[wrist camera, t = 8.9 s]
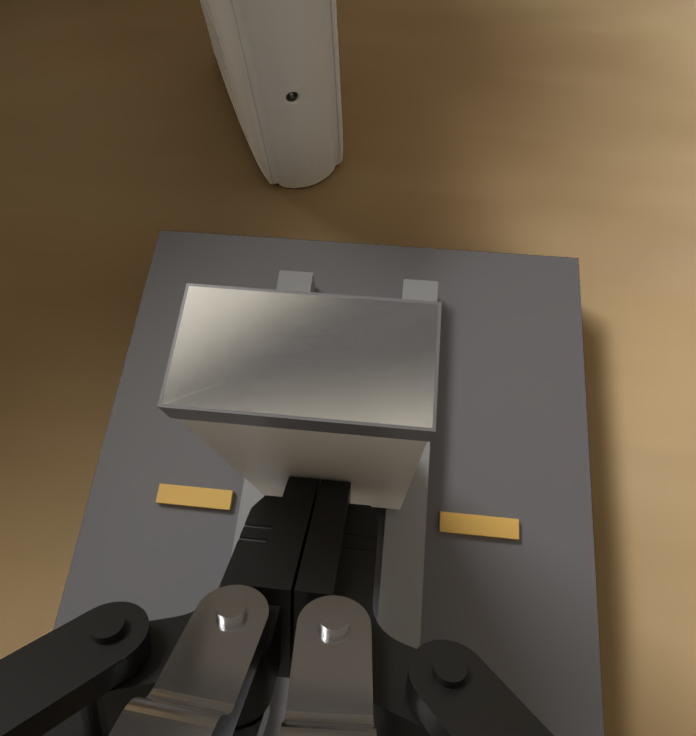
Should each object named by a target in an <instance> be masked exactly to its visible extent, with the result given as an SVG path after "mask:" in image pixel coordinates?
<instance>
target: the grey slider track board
mask: <svg viewBox="0 0 696 736" xmlns="http://www.w3.org/2000/svg"><path fill="white" fill-rule="evenodd" d="M187 283H192V284H206V285H220V286H233V287H247V288H260V289H274V290H288V291H301V292H315V293H329V294H342V295H356V296H369V297H383V298H397V299H410V300H424V301H437V302H442V308H441V329H440V351H439V372H438V393H437V415H436V432H435V435H434V437H433V439H432V442H427V443H426V445H425V448H424V450H423V453H422V456H421V458H420V461H419V463H418V466H417V468H416V471H415V473H414V476H413V478H412V481H411V483H410V486H409V488H408V491H407V493H406V496H405V499H404V501H403V504H402V506H401V509H400V510H398V509H388V508H378V507H373V511H374V513H375V515H376V517H377V519H378V521H379V522H378V536H377V550H376V564H375V578H374V593H373V612H374V616H375V618H376V621H377V622H378V624H379V626H380V627H381V628H382V629H383V630H384V631H385V632H386V633H387V634H388V635H389V636H391V637H392V638H394V639H395V640H397V641H399V642H401V643H404V644H406V645H408V646H411V647H413V648H415V649H417V648H418V647H419V646H421V645H422V644H424V643H426V642H429V641H433V640H450V641H455V642H457V643H460V644H462V645H464V646H466V647H468V648H469V649H471V650H472V651H473V652H475V653H476V654H477V655H478V656H479V657H480V658H481V659H482V660H483V661H484V662H485V664H486V665H487V666H488V667H489V668H490V669H491V670H492V671H493V672H494V673H495V674H496V675H497V676H498V677H499V678H500V679H501V680H502V681H503V683H504V684H505V685H506V686H507V687H508V688H509V689H510V690H511V691H512V692H513V693H514V694H515V695H516V696H517V697H518V698H519V699H520V700H521V702H522V703H523V704H524V705H525V706H526V707H527V708H528V709H529V710H530V711H531V712H532V713H533V714H534V715H535V716H536V717H537V718H538V719H539V720H540V722H541V723H542V724H543V725H544V726H545V727H546V728H547V729H548V730H549V731H550V732H551V733H552V734H553V735H554V736H604V720H603V702H602V683H601V665H600V646H599V628H598V610H597V591H596V573H595V554H594V536H593V518H592V499H591V481H590V462H589V444H588V426H587V407H586V389H585V370H584V352H583V334H582V315H581V297H580V278H579V260H578V258H569V257H554V256H539V255H524V254H509V253H494V252H479V251H464V250H449V249H434V248H419V247H405V246H390V245H375V244H360V243H345V242H330V241H315V240H300V239H285V238H270V237H255V236H240V235H225V234H210V233H195V232H180V231H165V230H160V231H159V235H158V239H157V243H156V246H155V250H154V254H153V258H152V261H151V265H150V269H149V273H148V276H147V280H146V284H145V288H144V291H143V295H142V299H141V303H140V306H139V310H138V314H137V318H136V321H135V325H134V329H133V333H132V336H131V340H130V344H129V348H128V351H127V355H126V359H125V363H124V367H123V370H122V374H121V378H120V382H119V385H118V389H117V393H116V397H115V400H114V404H113V408H112V412H111V415H110V419H109V423H108V427H107V430H106V434H105V438H104V442H103V445H102V449H101V453H100V457H99V460H98V464H97V468H96V472H95V475H94V479H93V483H92V487H91V490H90V494H89V498H88V502H87V505H86V509H85V513H84V517H83V520H82V524H81V528H80V532H79V535H78V539H77V543H76V547H75V550H74V554H73V558H72V562H71V566H70V569H69V573H68V577H67V581H66V584H65V588H64V592H63V596H62V599H61V603H60V607H59V611H58V614H57V618H56V622H55V626H54V629H53V630H55V629H57V628H59V627H60V626H62V625H64V624H66V623H68V622H69V621H71V620H73V619H75V618H77V617H78V616H80V615H82V614H84V613H86V612H87V611H89V610H91V609H93V608H95V607H97V606H100V605H103V604H106V603H110V602H118V601H123V602H131V603H134V604H136V605H138V606H140V607H141V608H142V609H144V610H145V612H146V613H147V615H148V618H149V621H152V620H158V619H164V618H171V617H176V616H181V615H185V614H188V613H190V612H193V611H195V609H196V607H197V605H198V604H199V602H200V601H201V600H202V599H203V598H204V597H205V596H206V595H207V594H208V593H210V592H212V591H213V590H215V589H218V588H219V586H220V583H221V581H222V578H223V576H224V573H225V571H226V569H227V566H228V564H229V561H230V559H231V556H232V554H233V551H234V549H235V546H236V544H237V542H238V540H239V538H240V534H241V532H242V529H243V527H244V526H245V522H246V519H247V517H248V515H249V512H250V510H251V508H252V507H253V506H254V505H255V504H256V503H257V502H258V501H259V500H261V499H262V498H263V497H264V496H265V495H264V494H263V493H261V492H260V491H259V490H258V489H257V488H256V487H255V486H254V485H252V484H251V483H250V482H249V481H248V480H247V479H246V478H245V477H243V476H242V475H241V474H240V473H239V472H238V471H237V470H236V469H234V468H233V467H232V466H231V465H230V464H229V463H228V462H226V461H225V460H224V459H223V458H222V457H221V456H220V455H219V454H217V453H216V452H215V451H214V450H213V449H212V448H211V447H210V446H208V445H207V444H206V443H205V442H204V441H203V440H202V439H201V438H199V437H198V436H197V435H196V434H195V433H194V432H193V431H191V430H190V429H189V428H188V427H187V426H186V425H185V424H184V423H182V422H181V421H180V420H179V419H174V418H170V417H169V416H168V415H166V414H165V413H164V412H163V411H162V410H161V409H159V408H158V407H157V406H158V402H159V398H160V394H161V389H162V385H163V381H164V377H165V372H166V368H167V364H168V360H169V356H170V351H171V347H172V343H173V339H174V334H175V330H176V326H177V322H178V317H179V313H180V309H181V305H182V300H183V296H184V292H185V288H186V284H187ZM289 680H290V678H286V677H277V679H276V683H275V687H274V692H273V696H272V699H271V702H270V713H269V718H268V721H267V724H266V727H265V731H264V734H263V736H279V733H280V728H281V724H282V722H284V718H285V712H286V704H287V696H288V688H289Z"/></svg>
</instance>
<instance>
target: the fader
mask: <svg viewBox="0 0 696 736" xmlns="http://www.w3.org/2000/svg"><path fill="white" fill-rule="evenodd" d="M441 308H442V302H437V301H424V300H410V299H397V298H383V297H369V296H356V295H342V294H329V293H315V292H301V291H288V290H274V289H260V288H247V287H233V286H220V285H206V284H192V283H187V284H186V288H185V292H184V296H183V300H182V305H181V309H180V313H179V317H178V322H177V326H176V330H175V334H174V339H173V343H172V347H171V351H170V356H169V360H168V364H167V368H166V372H165V377H164V381H163V385H162V389H161V394H160V398H159V402H158V406H157V407H158V408H159V409H161V410H162V411H163V412H164V413H165V414H166V415H168V416H169V417H170V418H174V419H179V420H180V421H181V422H182V423H184V424H185V425H186V426H187V427H188V428H189V429H190V430H191V431H193V432H194V433H195V434H196V435H197V436H198V437H199V438H201V439H202V440H203V441H204V442H205V443H206V444H207V445H208V446H210V447H211V448H212V449H213V450H214V451H215V452H216V453H217V454H219V455H220V456H221V457H222V458H223V459H224V460H225V461H226V462H228V463H229V464H230V465H231V466H232V467H233V468H234V469H236V470H237V471H238V472H239V473H240V474H241V475H242V476H243V477H245V478H246V479H247V480H248V481H249V482H250V483H251V484H252V485H254V486H255V487H256V488H257V489H258V490H259V491H260V492H261V493H263V494H264V495H268V496H278V497H282V496H283V493H284V490H285V487H286V484H287V481H288V478H289V477H290V476H291V477H301V478H312V479H319V480H320V482H321V480H322V479H323V480H334V481H344V482H351V499H350V504H360V505H370V506H371V507H372V509H373V507H378V508H388V509H398V510H400V509H401V506H402V504H403V501H404V499H405V496H406V493H407V491H408V488H409V486H410V483H411V481H412V478H413V476H414V473H415V471H416V468H417V466H418V463H419V461H420V458H421V456H422V453H423V450H424V448H425V445H426V443H427V442H432V439H433V437H434V435H435V432H436V415H437V393H438V372H439V351H440V329H441Z"/></svg>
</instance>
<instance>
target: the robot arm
mask: <svg viewBox="0 0 696 736" xmlns="http://www.w3.org/2000/svg"><path fill="white" fill-rule="evenodd" d="M350 499H351V482H344V481H334V480H323V479H322V480H321V482H320V480H319V479H312V478H301V477H291V476H290V477H289V478H288V481H287V484H286V487H285V490H284V493H283V496H282V497H278V496H268V495H265V496H264V497H263V498H262V499H261V500H259V501H258V502H257V503H256V504H255V505H254V506H253V507H252V508H251V510H250V512H249V515H248V517H247V519H246V522H245V526H244V527H243V529H242V532H241V534H240V538H239V540H238V542H237V544H236V546H235V549H234V551H233V554H232V556H231V559H230V561H229V564H228V566H227V569H226V571H225V573H224V576H223V578H222V581H221V583H220V586H219V588H218V589H215V590H213V591H212V592H210V593H208V594H207V595H206V596H205V597H204V598H203V599H202V600H201V601H200V602H199V604H198V605H197V607H196V609H195V611H193V612H190V613H188V614H185V615H181V616H176V617H171V618H164V619H158V620H152V621H149V618H148V615H147V613H146V612H145V610H144V609H142V608H141V607H140V606H138V605H136V604H134V603H131V602H123V601H118V602H110V603H106V604H103V605H100V606H97V607H95V608H93V609H91V610H89V611H87V612H86V613H84V614H82V615H80V616H78V617H77V618H75V619H73V620H71V621H69V622H68V623H66V624H64V625H62V626H60V627H59V628H57V629H55V630H53V631H51V632H50V633H48V634H46V635H44V636H42V637H41V638H39V639H37V640H35V641H33V642H31V643H30V644H28V645H26V646H24V647H22V648H21V649H19V650H17V651H15V652H13V653H12V654H10V655H8V656H6V657H4V658H3V659H1V660H0V736H263V734H264V731H265V727H266V724H267V721H268V718H269V713H270V702H271V699H272V696H273V692H274V687H275V683H276V679H277V677H286V678H290V680H289V688H288V696H287V704H286V712H285V718H284V722H282V724H281V728H280V733H279V736H554V735H553V734H552V733H551V732H550V731H549V730H548V729H547V728H546V727H545V726H544V725H543V724H542V723H541V722H540V720H539V719H538V718H537V717H536V716H535V715H534V714H533V713H532V712H531V711H530V710H529V709H528V708H527V707H526V706H525V705H524V704H523V703H522V702H521V700H520V699H519V698H518V697H517V696H516V695H515V694H514V693H513V692H512V691H511V690H510V689H509V688H508V687H507V686H506V685H505V684H504V683H503V681H502V680H501V679H500V678H499V677H498V676H497V675H496V674H495V673H494V672H493V671H492V670H491V669H490V668H489V667H488V666H487V665H486V664H485V662H484V661H483V660H482V659H481V658H480V657H479V656H478V655H477V654H476V653H475V652H473V651H472V650H471V649H469V648H468V647H466V646H464V645H462V644H460V643H457V642H455V641H450V640H433V641H429V642H426V643H424V644H422V645H421V646H419V647H418V648H417V649H415V648H413V647H411V646H408V645H406V644H404V643H401V642H399V641H397V640H395V639H394V638H392V637H391V636H389V635H388V634H387V633H386V632H385V631H384V630H383V629H382V628H381V627H380V626H379V624H378V622H377V621H376V618H375V616H374V612H373V593H374V578H375V564H376V550H377V536H378V522H379V521H378V519H377V517H376V515H375V513H374V511H373V509H372V507H371V506H370V505H360V504H350Z"/></svg>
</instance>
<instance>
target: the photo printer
mask: <svg viewBox="0 0 696 736" xmlns="http://www.w3.org/2000/svg"><path fill="white" fill-rule="evenodd" d="M200 3H201V7H202V10H203V14H204V18H205V21H206V25H207V28H208V32H209V35H210V39H211V43H212V49H213V52H214V54H215V56H216V60H217V63H218V66H219V69H220V72H221V75H222V77H223V80H224V83H225V86H226V89H227V91H228V94H229V97H230V99H231V102H232V104H233V107H234V110H235V112H236V115H237V117H238V120H239V123H240V125H241V128H242V130H243V132H244V135H245V137H246V139H247V142H248V144H249V146H250V149H251V151H252V153H253V156H254V158H255V160H256V162H257V164H258V166H259V168H260V169H261V171H262V173H263V175H264V176H265V177H266V179H267V180H268V182H269V183H270V184H276V183H278V184H279V185H280V186H282V187H286V188H302V187H307V186H311V185H314V184H316V183H318V182H320V181H322V180H324V179H325V178H326V177H328V176H329V175H330V174H331V173H332V172H333V170H334V168H335V165H337V164H340V163H341V162H342V159H343V126H342V105H341V85H340V64H339V45H338V25H337V6H336V0H200Z"/></svg>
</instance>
